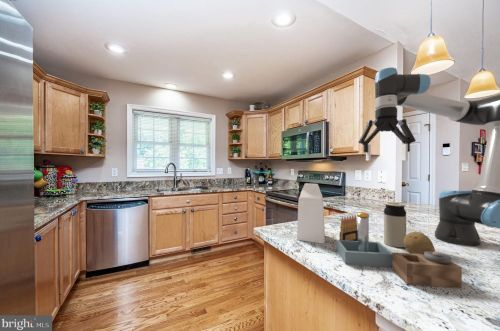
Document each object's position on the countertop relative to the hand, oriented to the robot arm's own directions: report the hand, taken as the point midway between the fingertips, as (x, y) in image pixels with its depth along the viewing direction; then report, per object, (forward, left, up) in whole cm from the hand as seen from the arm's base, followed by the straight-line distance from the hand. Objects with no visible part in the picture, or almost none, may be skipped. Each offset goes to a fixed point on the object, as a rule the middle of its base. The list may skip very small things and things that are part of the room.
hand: (386, 160), depth 85 cm
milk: (+28, -12, -37) cm, 48 cm away
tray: (+12, +9, -37) cm, 40 cm away
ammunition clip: (+12, -8, -37) cm, 40 cm away
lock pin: (+12, +9, -36) cm, 39 cm away
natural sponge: (-8, +6, -37) cm, 38 cm away
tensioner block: (-1, +21, -37) cm, 42 cm away
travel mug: (-7, -8, -37) cm, 38 cm away
